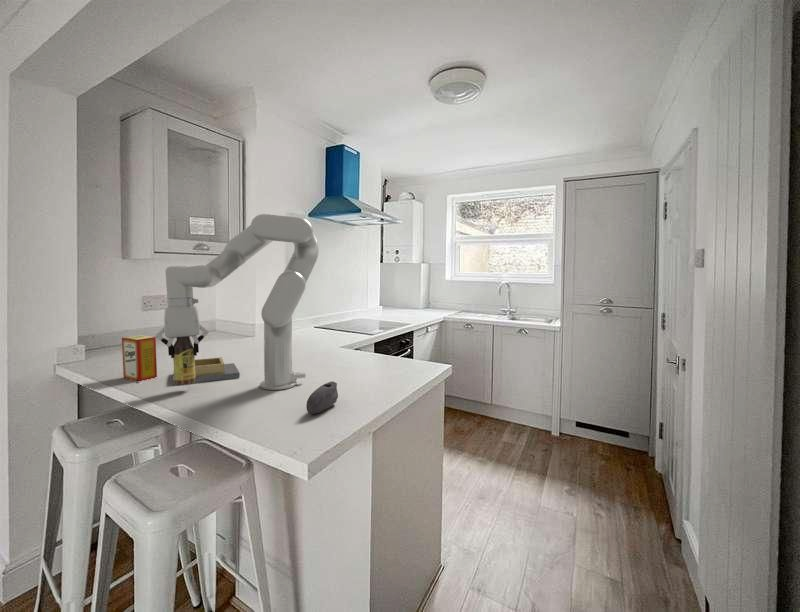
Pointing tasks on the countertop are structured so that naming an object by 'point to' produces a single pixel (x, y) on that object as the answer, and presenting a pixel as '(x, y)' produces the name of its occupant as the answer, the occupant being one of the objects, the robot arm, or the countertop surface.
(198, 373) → the wooden tray on slab
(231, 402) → the countertop surface
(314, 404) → the perforated stone tool
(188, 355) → the sauce bottle
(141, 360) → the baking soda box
